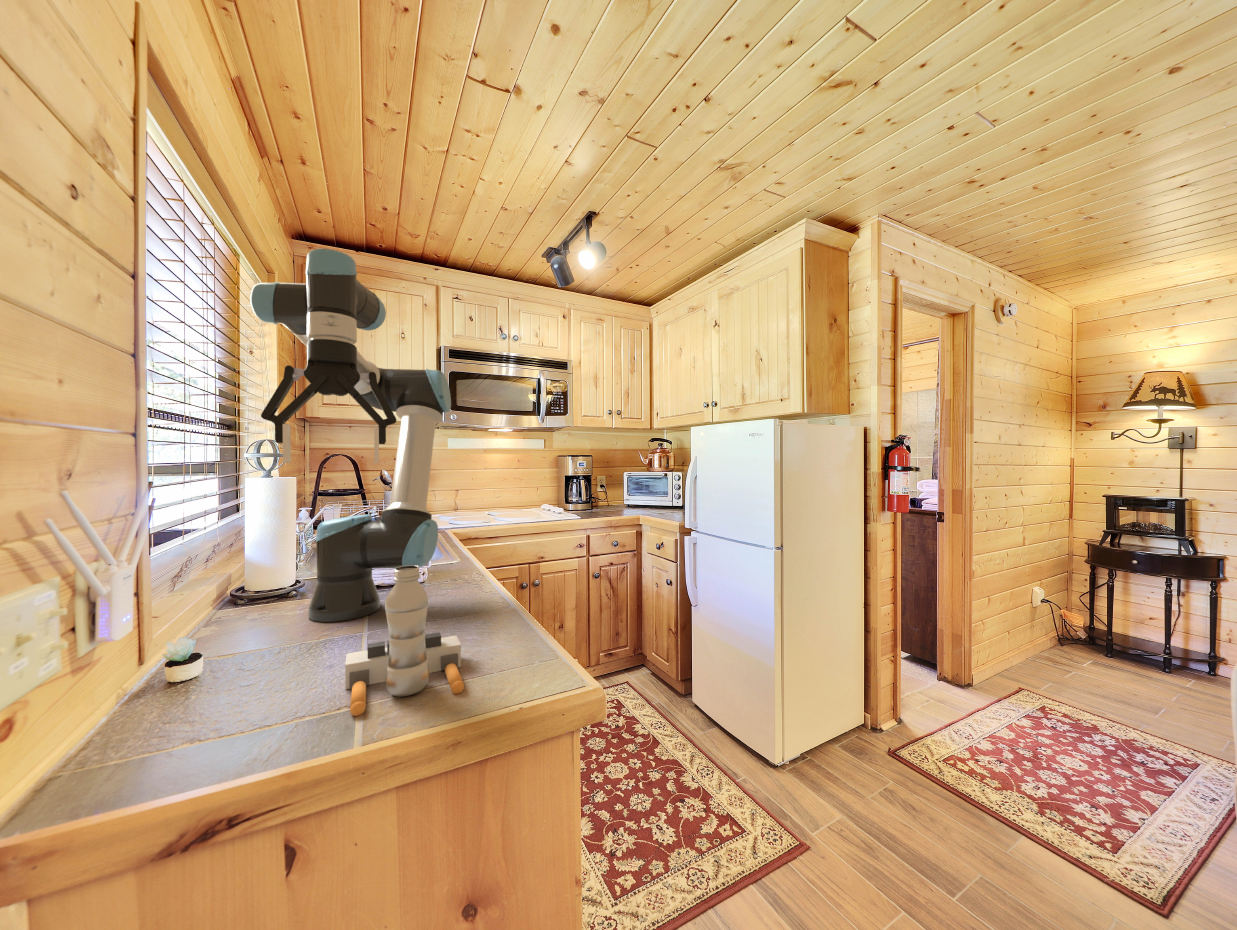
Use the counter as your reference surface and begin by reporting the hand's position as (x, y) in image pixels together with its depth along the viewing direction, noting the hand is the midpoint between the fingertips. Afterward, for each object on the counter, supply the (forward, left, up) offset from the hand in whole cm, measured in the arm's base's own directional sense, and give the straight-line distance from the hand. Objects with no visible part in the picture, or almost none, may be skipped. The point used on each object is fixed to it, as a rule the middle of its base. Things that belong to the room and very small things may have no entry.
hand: (333, 462), depth 84 cm
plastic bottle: (+15, +11, -37) cm, 41 cm away
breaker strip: (+7, +11, -37) cm, 39 cm away
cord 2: (+15, +18, -37) cm, 44 cm away
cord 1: (+15, +4, -37) cm, 40 cm away
